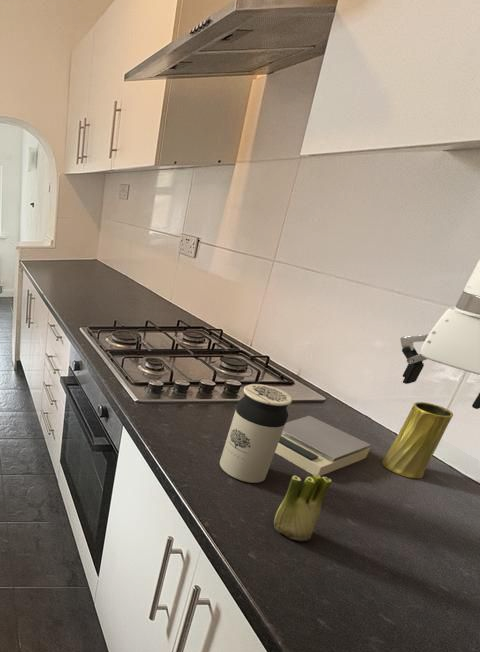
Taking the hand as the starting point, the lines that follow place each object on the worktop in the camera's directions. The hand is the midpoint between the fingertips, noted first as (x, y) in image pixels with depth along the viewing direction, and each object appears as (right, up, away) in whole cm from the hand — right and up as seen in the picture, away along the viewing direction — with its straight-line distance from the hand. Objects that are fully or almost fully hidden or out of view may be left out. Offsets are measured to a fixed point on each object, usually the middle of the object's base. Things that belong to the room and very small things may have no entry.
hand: (441, 393), depth 77 cm
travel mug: (-33, -16, +7) cm, 37 cm away
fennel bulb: (-34, -23, -7) cm, 42 cm away
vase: (0, -16, +7) cm, 18 cm away
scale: (-14, -14, +13) cm, 23 cm away
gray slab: (-12, -11, +12) cm, 20 cm away
